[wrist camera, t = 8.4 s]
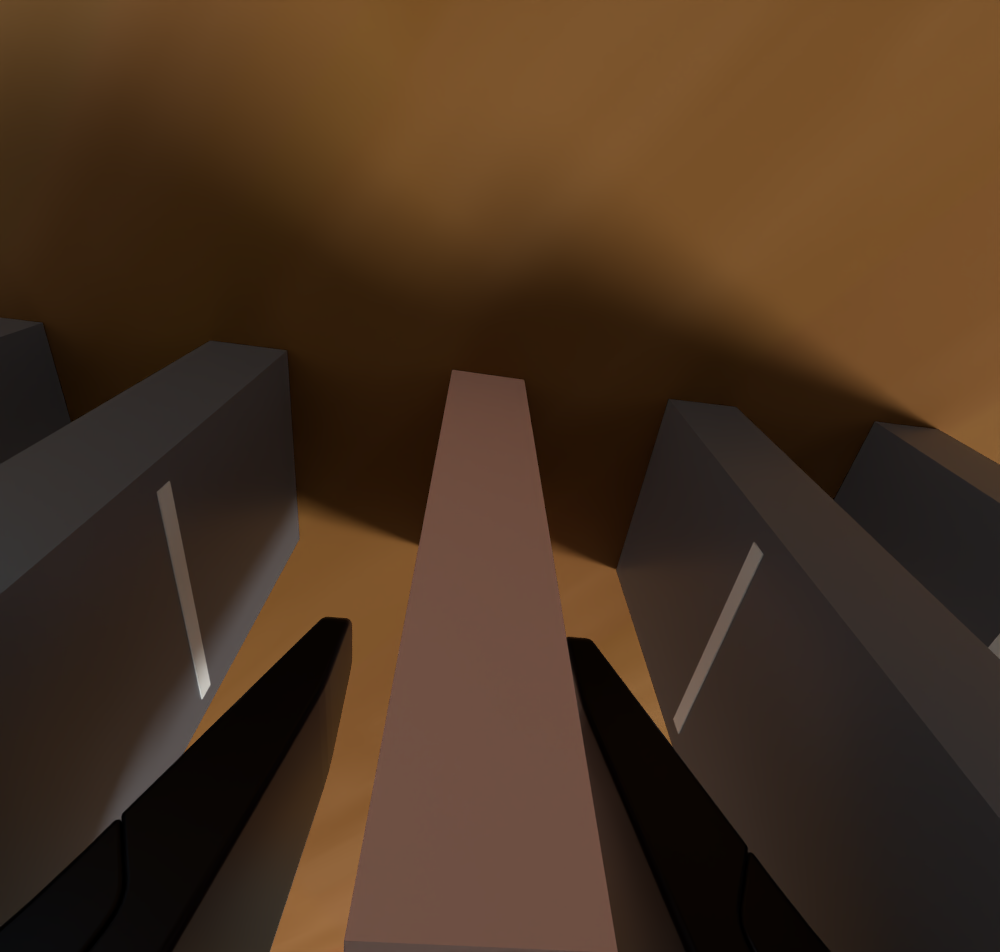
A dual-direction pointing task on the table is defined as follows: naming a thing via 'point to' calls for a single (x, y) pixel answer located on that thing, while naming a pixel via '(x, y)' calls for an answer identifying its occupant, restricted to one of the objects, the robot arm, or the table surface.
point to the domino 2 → (482, 719)
